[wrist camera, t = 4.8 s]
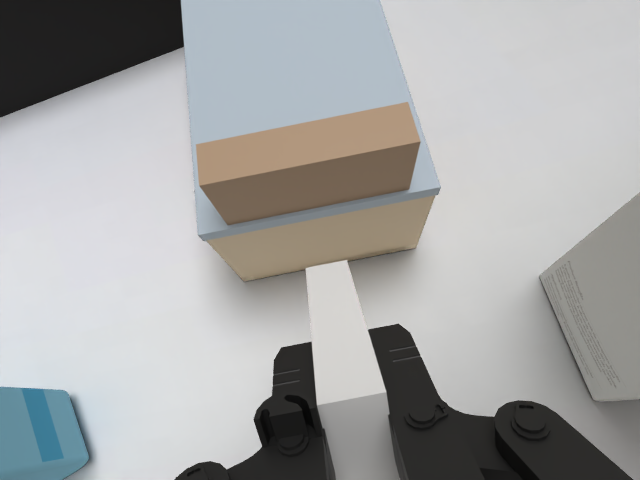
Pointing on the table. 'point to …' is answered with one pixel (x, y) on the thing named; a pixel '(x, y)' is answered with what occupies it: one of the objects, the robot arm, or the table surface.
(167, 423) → the table surface
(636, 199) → the skincare box
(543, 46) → the table surface
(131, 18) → the headphone box
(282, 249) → the open wooden box
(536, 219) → the table surface
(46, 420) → the data package
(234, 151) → the lid
